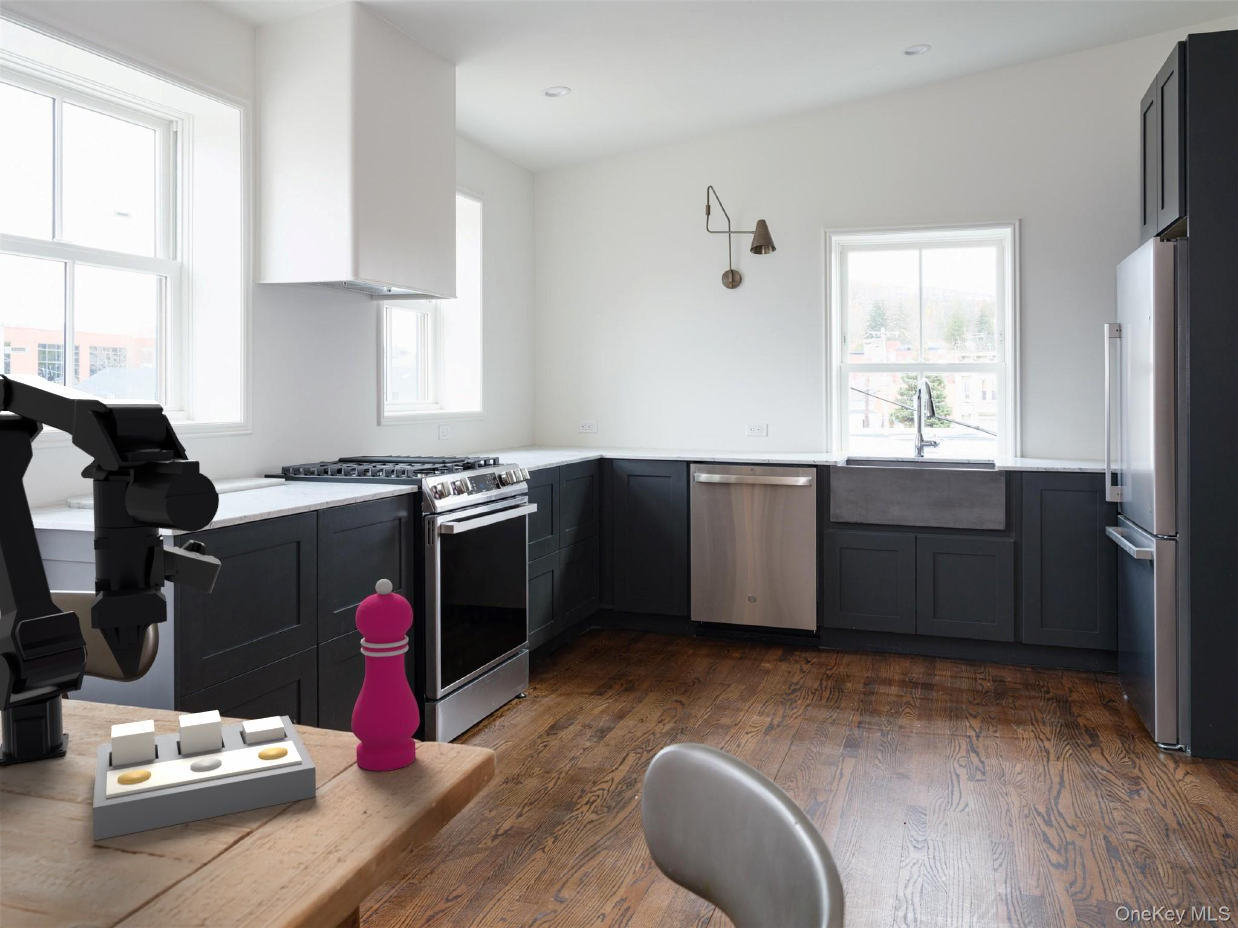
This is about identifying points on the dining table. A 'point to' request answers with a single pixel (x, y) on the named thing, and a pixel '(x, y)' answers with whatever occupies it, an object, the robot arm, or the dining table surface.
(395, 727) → the pepper mill
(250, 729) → the button
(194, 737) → the middle button
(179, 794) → the button panel
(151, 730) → the button
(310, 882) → the dining table surface
